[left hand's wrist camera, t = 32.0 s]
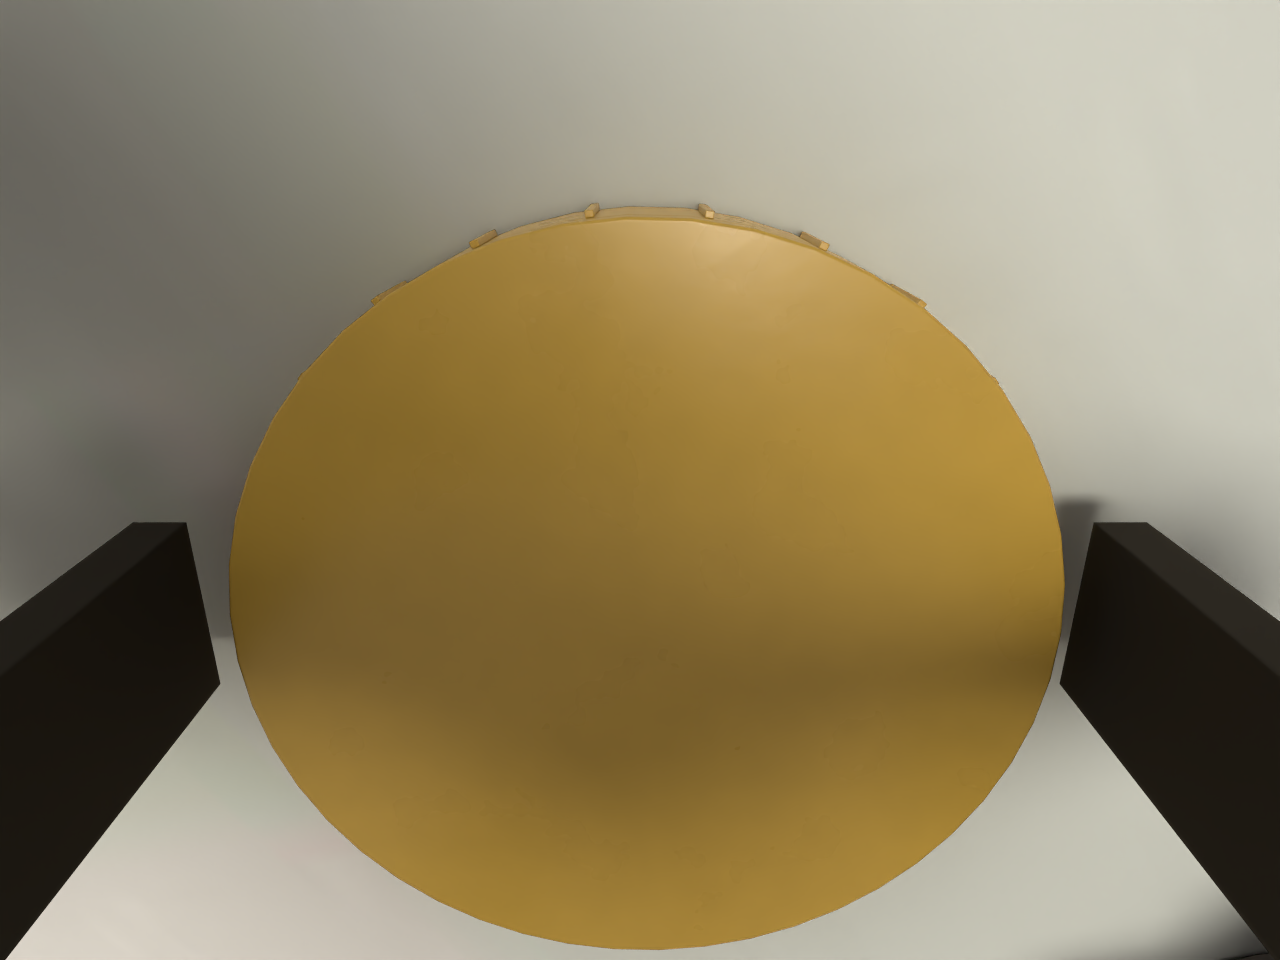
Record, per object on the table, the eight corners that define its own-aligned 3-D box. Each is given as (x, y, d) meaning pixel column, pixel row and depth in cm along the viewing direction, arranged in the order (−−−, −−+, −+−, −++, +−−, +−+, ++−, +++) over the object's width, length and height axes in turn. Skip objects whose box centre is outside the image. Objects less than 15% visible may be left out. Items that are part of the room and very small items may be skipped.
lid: (868, 43, 11) (913, 21, 9) (1094, 728, 15) (1158, 810, 13) (129, 409, 13) (42, 454, 11) (499, 936, 16) (481, 1035, 15)
